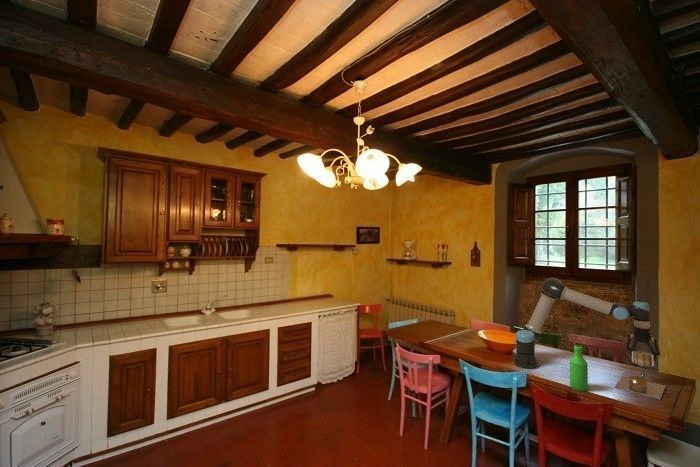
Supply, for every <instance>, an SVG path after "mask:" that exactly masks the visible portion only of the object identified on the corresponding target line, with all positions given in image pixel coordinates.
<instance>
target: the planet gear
mask: <svg viewBox="0 0 700 467" xmlns="http://www.w3.org/2000/svg"><path fill="white" fill-rule="evenodd" d="M633 351H634V362H633V363H634V364H635V365H640V367H641V366H642V367H648V368H649V367H653V366H652V352H648V351H645V350H633Z"/></svg>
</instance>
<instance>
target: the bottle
mask: <svg viewBox="0 0 700 467" xmlns="http://www.w3.org/2000/svg"><path fill="white" fill-rule="evenodd" d="M573 349H574V355H573V356H572V357H571V358H570V359H569V386H570V387H571V388H572V389H574V390H576V391H580V392H585V391H587V390H588V389H589V383H588V382H589V374H588V373H589V372H588V371H589V368H588V365H589V364H588V362H587V361H586V359H585V358H584V357H583V350H584V348H583V346H581V345H574V346H573Z"/></svg>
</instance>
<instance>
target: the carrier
mask: <svg viewBox="0 0 700 467" xmlns="http://www.w3.org/2000/svg"><path fill="white" fill-rule="evenodd" d="M645 375H646V374H645V373H643V372H640V376H638V375H629V376H627V375H622V376H621V378H619V381H618V382H617V383H616V384H615V386H614V388H616V389H620V390H623V391H627V392H630V391H631V392H630V393H634V394H637V393H638V395H641V394H642V396H645V397H649V396H650V397H649V398H652V397H653V398H654V399H656V398H657V400H661V399H662V397H663V394H664V392H665V391H666V385H664V384H659V383H655V382H652V381H647V379H646V378H645V377H646V376H645Z"/></svg>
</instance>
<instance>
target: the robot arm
mask: <svg viewBox="0 0 700 467" xmlns="http://www.w3.org/2000/svg"><path fill="white" fill-rule="evenodd" d="M540 295H541V296H540V298H539V299H538V302H537V304H536V307H535V308H534V310H533V313H532V315H531V316H530V319H529V321H528V323H526V324H524V327H523V329H521V330H518V331H516V332H515V333H516V334H515V345H516V346H515V350H516V351H515V356H514V358H513V364H514V366H516V365H517V367H518V366H519V367H518V368H521V367H522V369H527V370H534V369H537V368H538V367H539V364H538V361H537V358H536V356H535V355H536V353H535V352H536V351H535V350H536V348H535V346H536V345H537V344H538V343H539V341H540V339H541V338H540V337H541V335H542V327H543V326H544V323H545V321H546V319H547V317H548V315H549V313H550V311H551V309H552V307H553V304H554V302H555V301H557V300H566V301H568V302H570V303H571V302H572V303H573V304H578V305H580V306H583V307H586V308H588V309H592V310H594V311H597V312H599V313H601V314H605V315H608V316H611V317H613V318H615V319H617V320H618V321H625V320H628V318H629V317H631V318H632V317H633V325H634V327H633V334H632V333H629V334H627V341H626V347H625V350H627V351H629V357H631V362H632V363H634V351H635V350H634V349H635V347H636V346H637V344H638V342H639V343H643V344H646V345H647V347H648V349H649V350H650V353H651V354H652V366H651V367H655V362H656V361H657V357H658V356H661V351H660V348H659V344H658V337H652V336H651V329H650V328H651V319H650V318H651V315H650V314H651V312H650V304H649V303H648V302H644V301H633V304H628V303H627V304H626V303H617V302H609V301H607V300H604V299H600V298H597V297H593V296H591V295H589V294H585V293H582V292H580V291H578V290H577V291H576V290H574V289H570V288H568V287H567V286H566V285H564V284H563V282H562V280H560V279H558V278H556V277H550V278H547V279H545V280H544V281H543V282H542V284H541V290H540ZM633 337H634V339H635V341H633V342H634V343H633V344H632V346H631V342H632V338H633ZM650 341H652V342H653V344H654V347H653V346H652V344H651V342H650ZM630 346H631V347H630ZM654 348H655V349H654Z"/></svg>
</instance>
